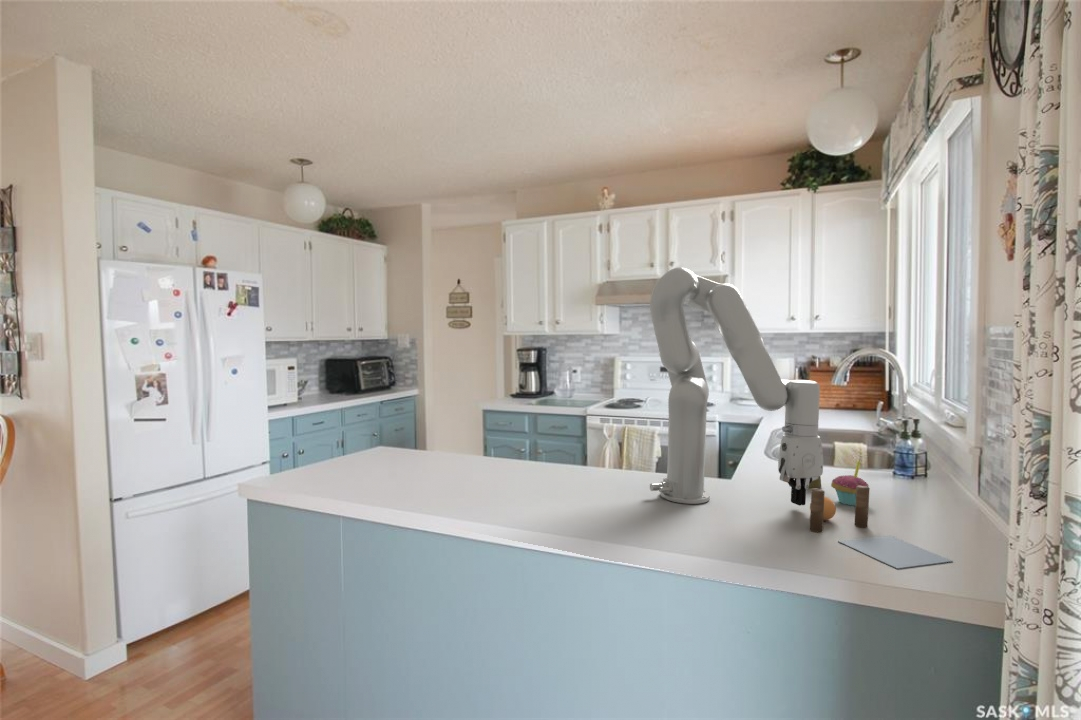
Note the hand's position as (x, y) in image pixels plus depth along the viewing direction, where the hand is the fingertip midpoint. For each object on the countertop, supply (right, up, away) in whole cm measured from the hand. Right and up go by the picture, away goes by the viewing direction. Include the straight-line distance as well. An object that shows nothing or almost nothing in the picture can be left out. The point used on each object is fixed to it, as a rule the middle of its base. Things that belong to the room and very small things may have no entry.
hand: (798, 503), depth 142 cm
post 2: (+10, -2, -11) cm, 15 cm away
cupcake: (+16, -2, +7) cm, 18 cm away
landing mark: (+8, -3, -26) cm, 27 cm away
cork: (+14, -1, +23) cm, 27 cm away
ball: (+3, +1, -7) cm, 8 cm away
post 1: (-2, -2, -14) cm, 15 cm away
